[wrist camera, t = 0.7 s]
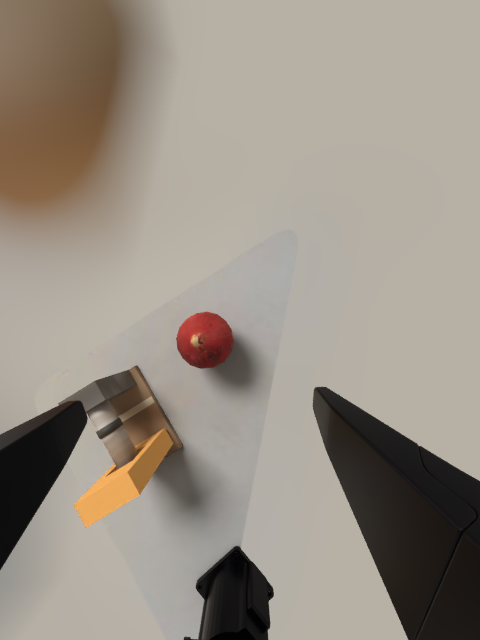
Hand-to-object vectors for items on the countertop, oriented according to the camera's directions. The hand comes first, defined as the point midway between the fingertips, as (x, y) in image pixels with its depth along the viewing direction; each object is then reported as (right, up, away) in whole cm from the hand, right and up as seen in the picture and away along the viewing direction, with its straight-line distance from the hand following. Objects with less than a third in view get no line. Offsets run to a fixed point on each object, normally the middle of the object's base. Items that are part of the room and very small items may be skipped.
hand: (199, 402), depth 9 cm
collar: (-9, -11, +17) cm, 22 cm away
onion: (-2, +1, +19) cm, 19 cm away
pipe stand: (-11, -9, +18) cm, 23 cm away
